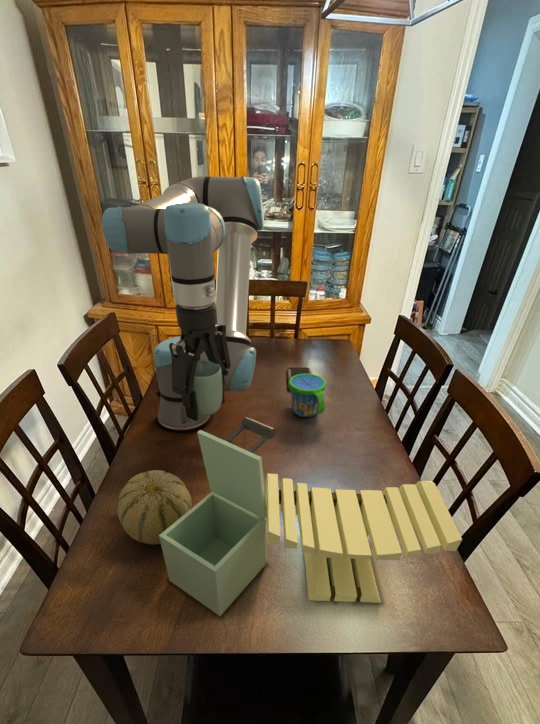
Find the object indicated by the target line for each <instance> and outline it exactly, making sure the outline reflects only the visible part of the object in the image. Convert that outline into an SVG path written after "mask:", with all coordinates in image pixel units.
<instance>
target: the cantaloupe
mask: <svg viewBox="0 0 540 724" xmlns="http://www.w3.org/2000/svg"><path fill="white" fill-rule="evenodd" d="M192 505H193V503H192V496H191V494H190V492H189V490H188V489H187V486H186V484H185V483H184V482H183V481H182V480H181V479H180V478H179V477H178V476H177V475H175V474H173V473H171V472H168V471H165V470H160V469H154V470H153V469H152V470H148V471H144V472H140V473H138V474H136V475H134V476H132V477H131V478H130V479H129V480H128V481H127V482H126V483H125V486H123V488H122V490H121V491H120V494H119V496H118V499H117V509H116V510H117V511H116V512H117V513H116V514H117V517H118V520H119V522H120V525H121V526H122V529H123V530H124V532H125V533H126V534H127V535H128V536H129V537H130V538H132V540H135V541H137V542H139V543H143V544H148V545H161V542H160V538H159V535H160V534H161V533H163V532H164V531H165V530H166V529H167V528H169V527H170V526H171V525H172V524H173V523H175V522H176V521H177V520H178V519H180V518H181V517H182V516H183V515H184V514H186V513H187V512H188V511H189V510H190V509H192V508H193V506H192Z"/></svg>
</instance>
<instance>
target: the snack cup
mask: <svg viewBox="0 0 540 724" xmlns="http://www.w3.org/2000/svg"><path fill="white" fill-rule="evenodd" d="M326 387H327V381H326V380H325V378H323V377H321V376H320V375H318V374H314V373H310V374H298V375H295V376H293V377H292V378H291V379H290V381H289V389H288V391H289V392H290V396H291V397H290V399H291V407H292V412H293V413H294V414H295V415H296V416H298V417H299V418H312V417H314V416H316V414H317V415H321V414H323V413H324V412H325V410H326V405H325V396H324V391H325V390H326Z"/></svg>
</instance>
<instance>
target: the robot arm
mask: <svg viewBox="0 0 540 724" xmlns="http://www.w3.org/2000/svg"><path fill="white" fill-rule="evenodd" d="M264 216H265V215H264V206H263V193H262V186H261V183H260V181H259V179H257V178H256V177H251V176H250V177H249V176H244V175H240V176H207V175H199V176H194V177H190V178H187V179H183V180H180V181H178V182H176V183H173V184H170V185H169V186H167V187H166V188H165V189H164V191H163V192H162V194H160V195H158V196H156V197H153V198H150V199H148V200H146V201H144V202H141V203H139V204H136V205H133V206H131V207H129V206H128V207H122V206H118V207H108V208H105V210H104V211H103V214H102V218H101V228H102V233H103V238H104V241H105V243H106V245H107V247H108V248H109V249H110V250H111V251H112V252H115V253H123V254H127V255H129V254H156V255H159V254H160V255H161V254H162V255H168V262H169V269H170V276H171V285H172V292H173V301H174V303H175V307H174V309H175V315H176V323H177V326H178V327H179V329H180V335H179V336H174V337H171V338H168V339H165V340H163V341H161V342H159V343H158V344H157V345H156V346H155V348H154V350H153V360H154V364H153V365H154V367H155V374H156V378H157V384H158V388H157V391H158V393H159V395H160V396H159V397H160V398H159V407H158V410H157V421H158V424H159V426H160V427H162V428H163V429H165V430H167V431H171V432H177V433H183V432H185V433H186V432H193V431H195V430H197V429H201V428H203V427H204V426H206V425H207V424H208V423H209V421H210V420H211V415H199V414H198V412H197V403H196V394H195V392H193V391H192V389H193V383H194V377H195V372H196V367H197V362H198V361H200V360H206V361H210V362H213V363H215V364H219V365H220V366H221V370H222V384H223V397H222V404H225V403H226V401H225V392H230V393H233V392H247V391H248V390H249V389H250V387H251V385H252V382H253V379H254V374H255V368H256V363H257V362H256V360H257V349H256V348H255V347H253V346H252V340H251V339H250V338H249V337H248V336H247V323H248V305H249V289H250V288H249V287H250V273H251V272H250V271H251V256H252V255H251V252H252V244H253V243H254V242H256V240H257V239H258V232H261V231H263V230H264V229H265V217H264ZM216 251H217V262H216V263H217V264H216V283H215V272H214V269H215V268H214V253H216ZM185 386H186V387H185ZM222 404H221V405H222Z"/></svg>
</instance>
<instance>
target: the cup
mask: <svg viewBox="0 0 540 724" xmlns="http://www.w3.org/2000/svg"><path fill="white" fill-rule="evenodd" d="M185 387H186V386H185ZM192 391H193V392H195V394H196V403H197V412H198V414H199V415H210V416H211V415H214V414H216V413H217V412H218V411H219V410H220V408H221V407H222V397H223V384H222V370H221V366H220V365H219V364H215V363H213V362H210V361H206V360H200V361H198V362H197V367H196V372H195V377H194V383H193V389H192Z"/></svg>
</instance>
